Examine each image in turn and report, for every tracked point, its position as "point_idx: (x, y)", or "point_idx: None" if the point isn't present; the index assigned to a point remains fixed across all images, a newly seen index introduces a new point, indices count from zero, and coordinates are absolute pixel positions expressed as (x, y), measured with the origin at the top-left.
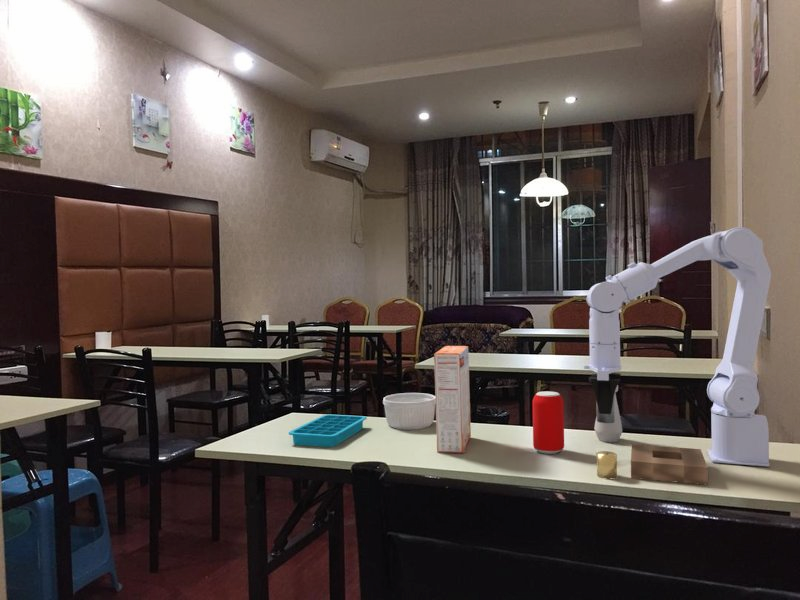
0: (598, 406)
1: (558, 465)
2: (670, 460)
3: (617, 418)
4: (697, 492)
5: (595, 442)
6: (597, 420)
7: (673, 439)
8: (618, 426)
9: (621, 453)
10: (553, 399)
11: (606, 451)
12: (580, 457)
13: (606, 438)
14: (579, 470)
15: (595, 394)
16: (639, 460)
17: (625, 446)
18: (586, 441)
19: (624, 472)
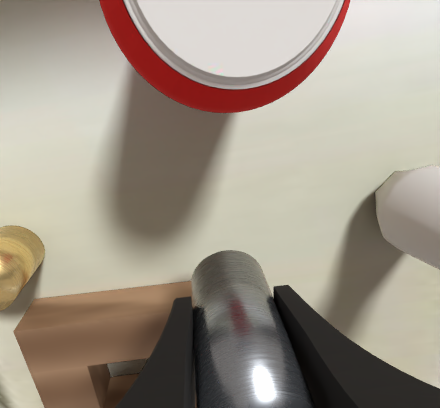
0: (167, 321)
1: (38, 101)
2: (79, 397)
3: (430, 264)
4: (16, 404)
5: (365, 165)
6: (208, 259)
7: (428, 332)
8: (406, 252)
9: (258, 249)
10: (131, 49)
11: (11, 282)
12: (169, 152)
13: (377, 201)
14: (23, 174)
15: (140, 374)
16: (34, 346)
17: (336, 248)
18: (373, 136)
19: (76, 279)
